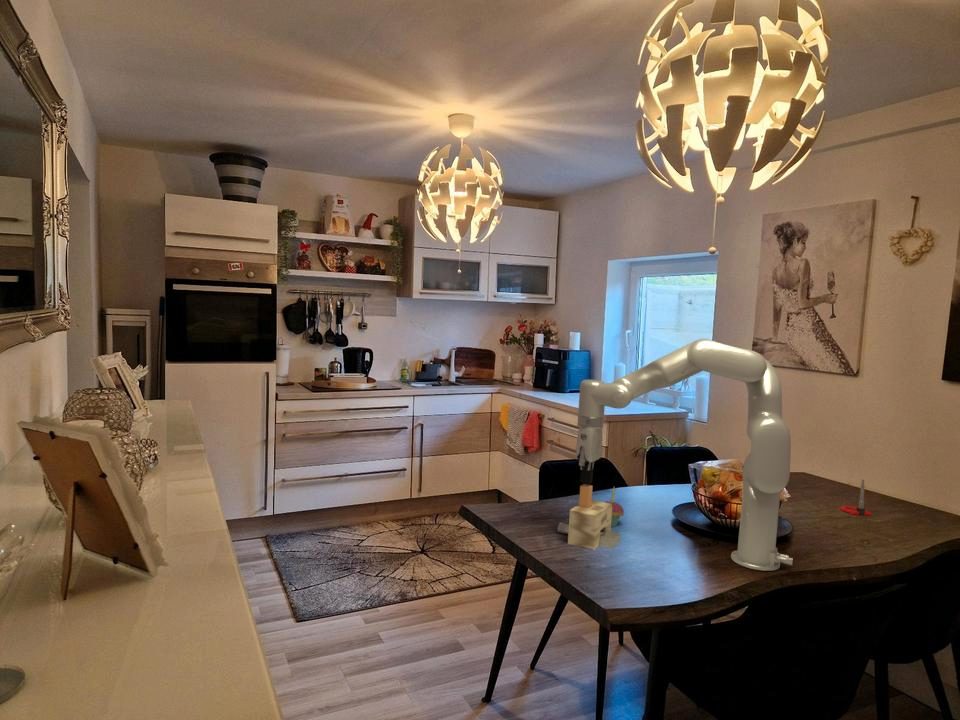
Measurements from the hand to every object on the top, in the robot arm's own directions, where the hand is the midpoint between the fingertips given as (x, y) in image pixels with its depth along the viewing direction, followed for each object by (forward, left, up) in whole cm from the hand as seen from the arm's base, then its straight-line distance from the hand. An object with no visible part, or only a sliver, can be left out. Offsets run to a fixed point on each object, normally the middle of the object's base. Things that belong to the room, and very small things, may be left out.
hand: (585, 482), depth 187 cm
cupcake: (-2, -18, -17) cm, 25 cm away
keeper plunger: (0, 0, -8) cm, 8 cm away
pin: (0, 0, -17) cm, 17 cm away
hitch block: (-2, 0, -17) cm, 17 cm away
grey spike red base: (-70, -90, -17) cm, 115 cm away
